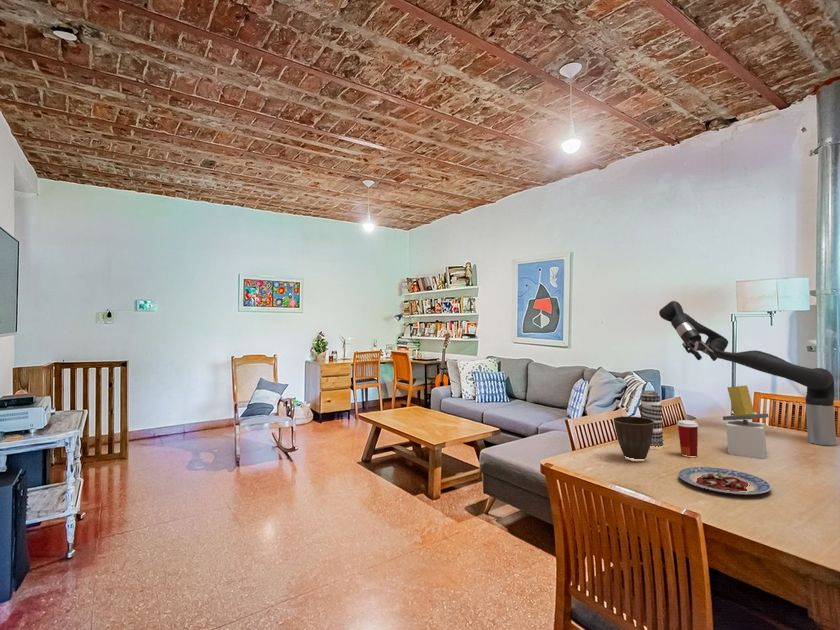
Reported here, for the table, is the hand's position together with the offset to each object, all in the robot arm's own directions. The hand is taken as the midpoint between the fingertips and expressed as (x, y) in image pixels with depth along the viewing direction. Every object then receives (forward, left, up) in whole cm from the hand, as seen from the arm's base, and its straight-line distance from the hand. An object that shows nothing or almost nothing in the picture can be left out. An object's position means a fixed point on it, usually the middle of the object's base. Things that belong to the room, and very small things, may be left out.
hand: (707, 359), depth 198 cm
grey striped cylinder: (+22, -19, -38) cm, 49 cm away
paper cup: (+28, -4, -38) cm, 48 cm away
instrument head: (+10, +14, -23) cm, 29 cm away
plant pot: (+46, -20, -38) cm, 64 cm away
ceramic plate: (+59, +11, -39) cm, 72 cm away
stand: (+10, +14, -38) cm, 42 cm away
